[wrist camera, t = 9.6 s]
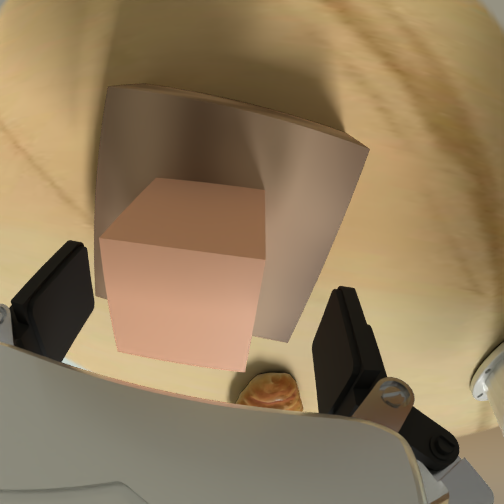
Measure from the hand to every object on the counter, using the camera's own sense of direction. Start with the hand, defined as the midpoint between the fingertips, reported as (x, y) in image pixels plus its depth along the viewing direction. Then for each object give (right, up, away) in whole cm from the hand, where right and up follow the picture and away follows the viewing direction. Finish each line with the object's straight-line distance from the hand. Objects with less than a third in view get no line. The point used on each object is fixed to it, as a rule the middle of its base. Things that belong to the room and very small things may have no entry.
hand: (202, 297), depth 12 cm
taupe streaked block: (0, +5, +8) cm, 10 cm away
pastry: (+3, -13, +19) cm, 23 cm away
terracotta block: (0, +3, +4) cm, 5 cm away
